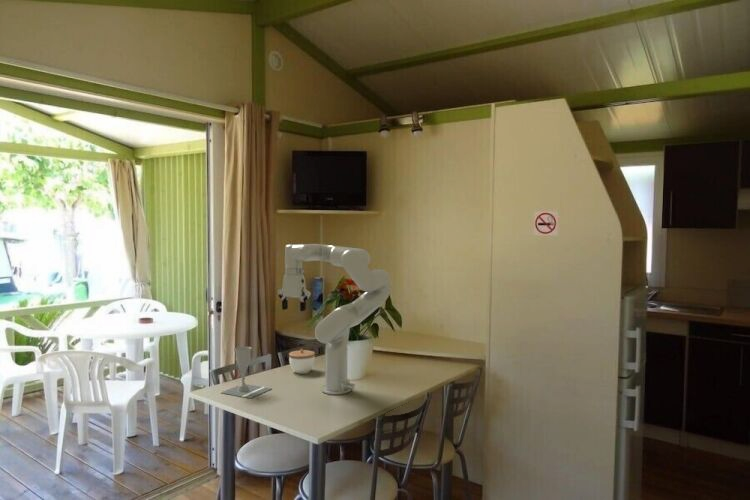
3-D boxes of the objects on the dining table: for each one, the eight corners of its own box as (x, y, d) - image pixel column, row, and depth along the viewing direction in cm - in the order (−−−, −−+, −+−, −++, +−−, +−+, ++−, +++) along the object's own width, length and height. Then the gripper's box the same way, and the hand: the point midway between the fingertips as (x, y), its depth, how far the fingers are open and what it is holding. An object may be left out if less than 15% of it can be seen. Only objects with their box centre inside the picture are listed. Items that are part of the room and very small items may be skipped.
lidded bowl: (307, 376, 238) (307, 353, 238) (284, 373, 242) (284, 351, 242) (319, 369, 250) (319, 347, 249) (297, 367, 254) (296, 345, 254)
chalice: (235, 393, 212) (235, 350, 211) (233, 388, 218) (233, 347, 217) (253, 391, 215) (253, 349, 214) (250, 386, 221) (250, 346, 220)
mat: (271, 389, 218) (271, 388, 218) (250, 398, 206) (250, 397, 206) (242, 384, 225) (242, 383, 225) (220, 393, 213) (220, 392, 213)
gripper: (314, 272, 224) (314, 310, 225) (282, 270, 232) (283, 307, 232) (305, 273, 217) (305, 312, 218) (272, 271, 225) (273, 309, 226)
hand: (293, 310), depth 225 cm, fingers open, 9 cm apart
